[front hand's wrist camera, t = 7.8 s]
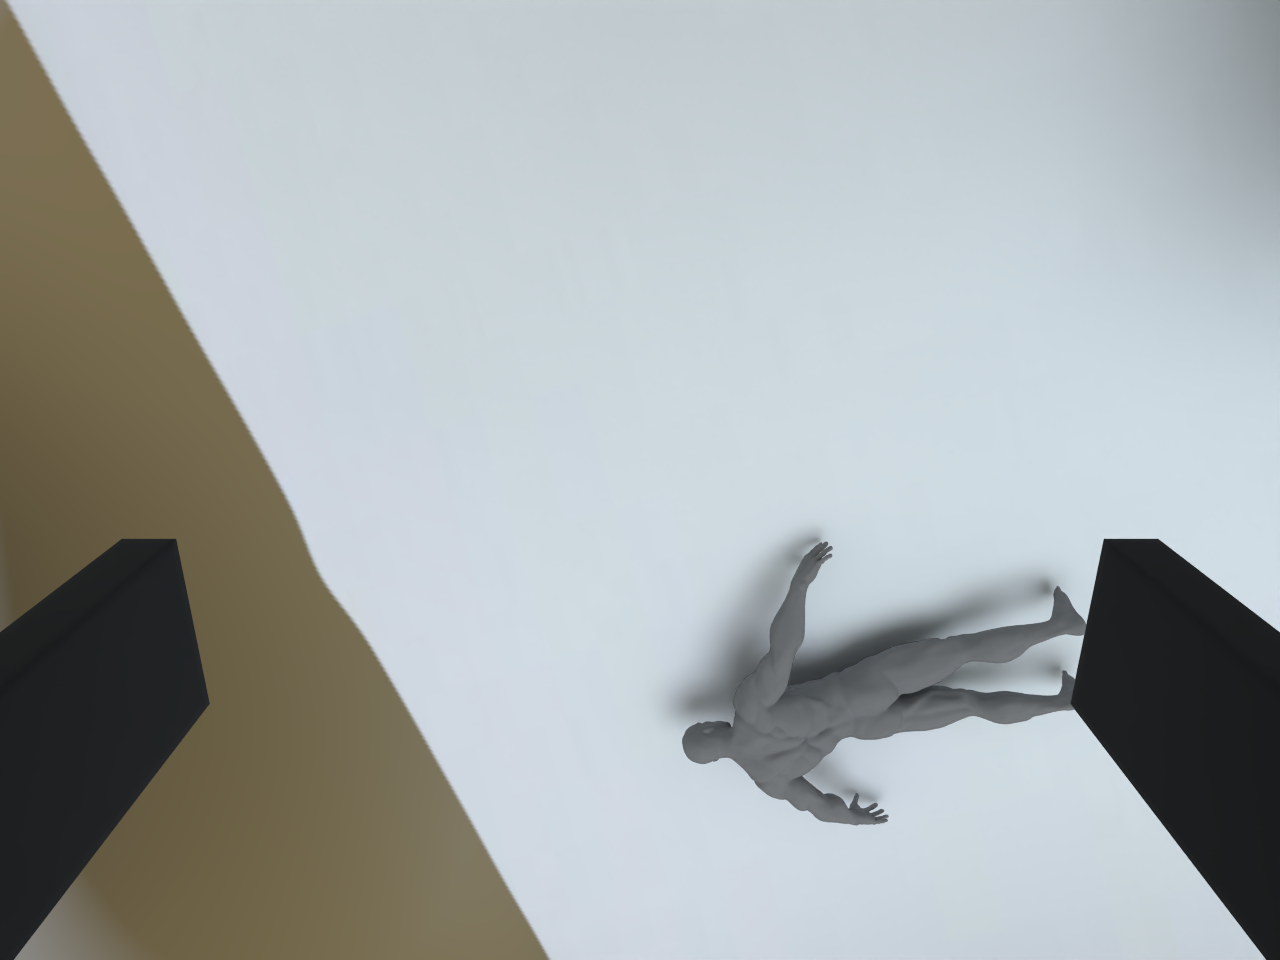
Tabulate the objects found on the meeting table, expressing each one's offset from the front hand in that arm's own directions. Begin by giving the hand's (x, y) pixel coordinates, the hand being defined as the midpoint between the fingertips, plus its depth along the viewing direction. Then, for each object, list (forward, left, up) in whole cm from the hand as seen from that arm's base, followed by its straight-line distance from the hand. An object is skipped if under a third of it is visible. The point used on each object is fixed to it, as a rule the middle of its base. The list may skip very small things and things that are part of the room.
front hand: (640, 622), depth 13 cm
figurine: (+21, +10, -28) cm, 36 cm away
